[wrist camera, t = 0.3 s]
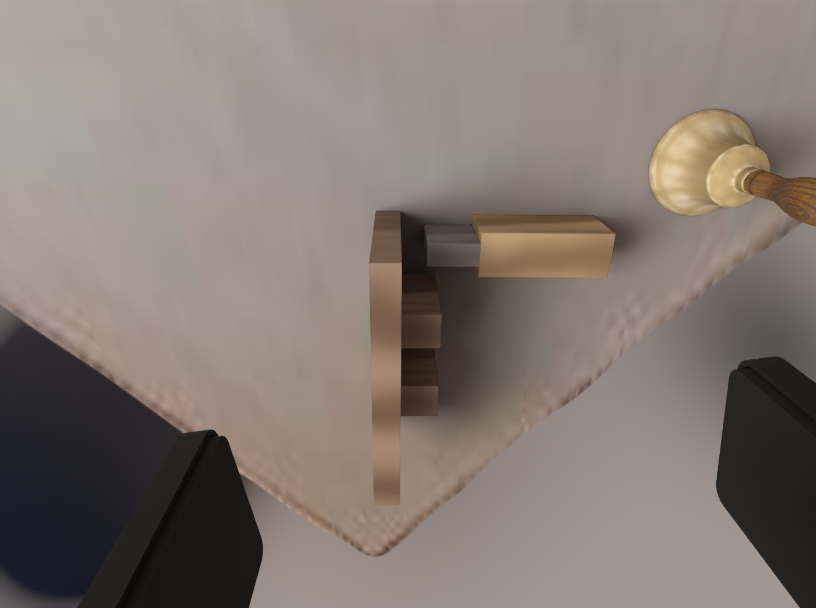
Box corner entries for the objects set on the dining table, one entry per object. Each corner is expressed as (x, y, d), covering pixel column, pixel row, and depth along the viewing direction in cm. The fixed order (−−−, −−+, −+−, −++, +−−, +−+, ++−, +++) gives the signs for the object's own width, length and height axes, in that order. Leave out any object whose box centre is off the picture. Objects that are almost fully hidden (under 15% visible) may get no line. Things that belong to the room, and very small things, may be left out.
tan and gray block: (424, 214, 44) (427, 232, 39) (593, 215, 44) (615, 233, 40) (423, 254, 45) (426, 276, 41) (586, 255, 46) (607, 277, 41)
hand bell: (698, 87, 40) (869, 105, 26) (775, 145, 42) (974, 191, 28) (626, 183, 43) (743, 247, 29) (701, 232, 45) (847, 316, 31)
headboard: (375, 211, 44) (369, 263, 33) (436, 211, 44) (450, 263, 33) (378, 411, 52) (374, 505, 41) (429, 411, 52) (438, 505, 41)
